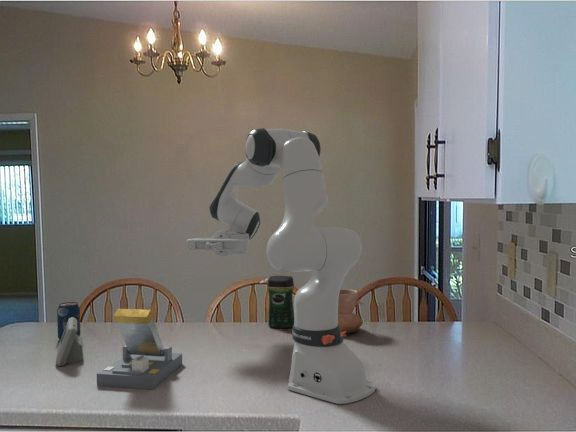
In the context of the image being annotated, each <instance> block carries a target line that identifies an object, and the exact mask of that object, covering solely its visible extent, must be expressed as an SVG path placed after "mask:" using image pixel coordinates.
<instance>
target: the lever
mask: <svg viewBox="0 0 576 432" xmlns="http://www.w3.org/2000/svg"><path fill="white" fill-rule="evenodd" d="M113 318H114V319H113V320H114V321H115V323H116V324H117V326H118V329H119V331H120V334H121V336H122V339H123V342H124V343H125V345H126V346H127V348H128V350H129V354H130V355H148V356H165V354H164V349H165V348H164V344H163V342H162V340H161V336H160V332H159V331H158V328H157V326H156V323H155V320H154V314H153V312H152V310H151V309H138V308H137V309H136V308H135V309H134V308H117V310H116V311H115V312H114V314H113Z"/></svg>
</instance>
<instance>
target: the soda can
mask: <svg viewBox="0 0 576 432" xmlns="http://www.w3.org/2000/svg"><path fill="white" fill-rule="evenodd" d="M80 309H81V308H80V306H79V302H77V301H68V302H61V303H59V305H58V307H57V310H56V313H57V314H56V319H57V338H58V339H59V342H60V341H61V338H62V335H63V332H64V330H65V327H66V324H67V322H68V319H69V318H71V317H74V318H76V319H77V333H76V334H77V335H78V336H79V337H81V310H80Z"/></svg>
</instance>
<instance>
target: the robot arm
mask: <svg viewBox="0 0 576 432" xmlns="http://www.w3.org/2000/svg"><path fill="white" fill-rule="evenodd" d="M244 145H245V157H246V158H245V160H244V162H243V161H240V162H237V163H236V164H235V165H234V166H232V168H231V169H230V171H229V172H228V174H227V176H226V178H225V180H224V182H223V183H222V185H221V186H220V188H219V190H218V192H217V194H216V195H215V197H214V198H213V199H212V201H211V202H210V205H209V213H210V215H211V217H212V218H213V219H215V220H217V221H219V222H221V223H223V224H225V226H228V227H229V228H226V229H220V230H217V231H215V233H213V235H212V236H211V237H196V238H195V237H194V238H187V239H186V246H185V247H186V250H187V251H189V252H190V251H193V252H194V251H195V252H196V251H198V252H199V251H200V252H201V251H203V252H204V251H205V252H206V251H208V252H209V251H210V252H213V253H214V254H215V255H217V256H219V257H228V256H233V255H234V254H237V255H238V254H248V253H249V252H250V240H252V239H253V238H254V237H255V235H256V233H257V232H258V230H259V228H260V225H261V217H260V213H259V212H258V211H257V210H256V209H254V208H252V207H250V206H249V205H247V204H245V203H243V202H241V201H240V200H239V199H237V198H236V197H234V195H233V193H234V191H235V190H236V188H237V186H238V185H239V186H245V187H249V188H255V189H261V188H266V187H269V186H270V185H272V184H273V183H274V182H275V181H276V178H277V177H278V175H279V173H280V175H281V181H282V188H283V189H282V190H283V194H284V196H283V197H284V204H285V205H284V206H285V207H284V208H285V209H284V215H283V219H282V222H281V223H280V225H279V227H278V229H276V231H275V232H274V233H272V234H271V236H270V237H269V239H268V241H267V244H266V258H267V260H268V263H269V264H270V265H271V266H272V268H273V269H274V270H276V271H278V272H284V273H285V272H286V273H293V274H295V273H304V272H305V273H306V272H307V273H308V272H312V273H311V275H310V278H309V279H308V281H307V282H306V283H305V284H304V285H303V286H301V287H300V288H299V289H297V291H296V293H295V295H294V298H293V310H294V325H293V327H292V331H291V332H292V340H293V349H292V354H291V355H292V356H291V364H290V372H289V376H288V384H287V390H289V391H291V392H294V393H298V394H302V395H305V396H309V397H313V398H315V399H319V400H323V401H327V402H330V403H333V404H337V405H345V404H351V403H353V402H354V403H355V402H359V401H361V400H363V399H365V398H367V397H370V396H371V395H372V394H374V392H375V391H376V389H377V387H376V383H375V382H372V381H370V380H368V379H367V375H366V368H365V365H364V363H363V362H362V360H361V359H360V358H359V357H358V356H357V355H356V354H355V353H354V352H353V350H351V349H350V347H349V346H348V345H347V344H346V342H345V341H344V337H345V336H347V334H345V333H346V331H344V332H341V329H340V327H339V325H338V299H339V292H340V289H342V286H343V282H344V280H345V278H346V276H347V275H348V273H349V271H350V270H351V269H352V268H353V267H354V265H356V264H357V263H358V261H359V260H360V259H361V256H362V253H363V244H362V241H361V238H360V235H359V234H358V233H357V231H355V230H353V229H350V228H345V227H341V226H326V227H325V226H323V227H322V226H321V227H316V226H315V216H317V215H318V214H319V213H321V212H322V211H323V210H324V209H325V208H326V206H327V205H328V201H329V196H328V191H327V187H326V180H325V175H324V171H323V166H322V162H321V159H320V156H321V143H320V140H319V138H318V136H317V135H316V134H315V133H312V132H309V131H304V130H303V131H299V130H292V129H286V128H264V127H262V128H260V127H259V128H255V129H252V130H250V132H249V133H248V135H247V137H246V139H245V144H244Z"/></svg>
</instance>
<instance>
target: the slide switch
mask: <svg viewBox="0 0 576 432" xmlns="http://www.w3.org/2000/svg"><path fill="white" fill-rule="evenodd" d="M148 369H149V357H144V355H141V356H140V357H136V358H135V359H133V360H132V371H140V372H142V373H144V372H145V371H146V370H148Z"/></svg>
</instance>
